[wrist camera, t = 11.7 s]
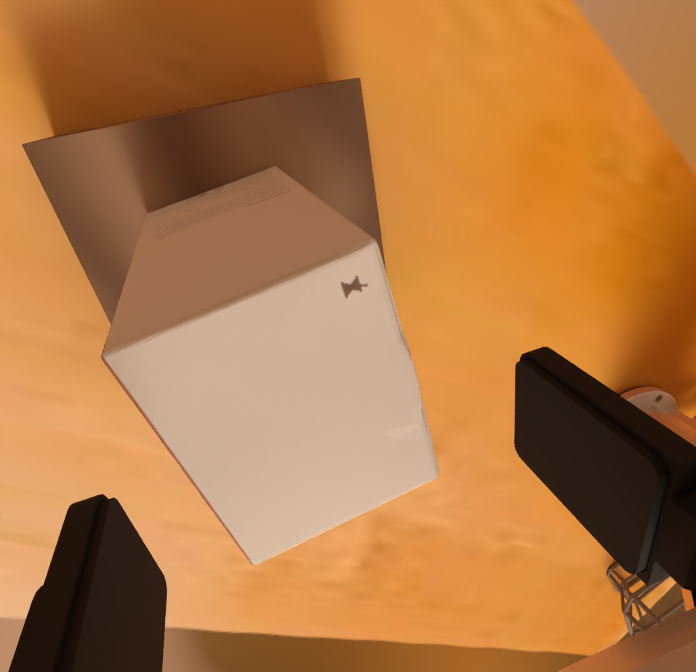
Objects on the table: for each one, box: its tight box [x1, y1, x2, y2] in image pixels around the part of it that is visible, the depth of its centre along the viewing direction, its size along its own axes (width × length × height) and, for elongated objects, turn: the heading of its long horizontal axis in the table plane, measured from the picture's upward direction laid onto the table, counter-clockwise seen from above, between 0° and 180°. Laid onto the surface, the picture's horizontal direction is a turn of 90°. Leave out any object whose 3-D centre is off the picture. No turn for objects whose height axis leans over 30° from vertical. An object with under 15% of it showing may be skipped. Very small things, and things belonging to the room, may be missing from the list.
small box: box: [101, 166, 439, 565], centre depth 17 cm, size 8×6×13 cm
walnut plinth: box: [22, 78, 386, 324], centre depth 24 cm, size 14×14×5 cm
